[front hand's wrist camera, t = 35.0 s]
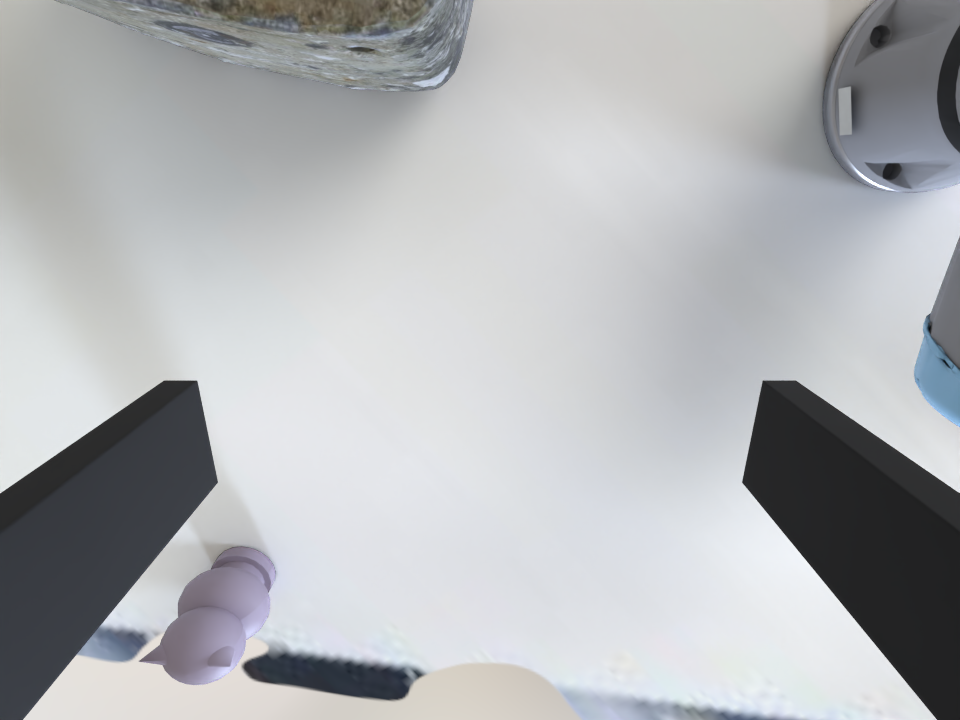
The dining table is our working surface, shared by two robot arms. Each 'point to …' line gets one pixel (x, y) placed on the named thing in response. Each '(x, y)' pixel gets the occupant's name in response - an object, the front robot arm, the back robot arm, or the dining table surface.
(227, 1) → the concrete block
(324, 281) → the dining table surface
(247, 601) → the cat figurine
